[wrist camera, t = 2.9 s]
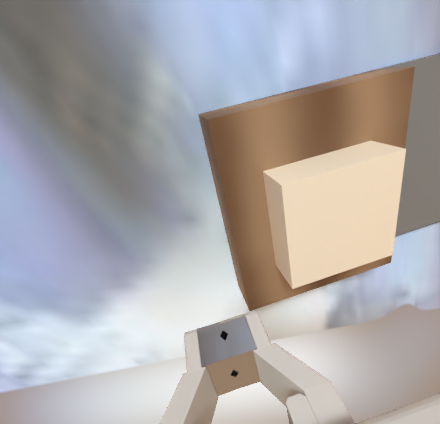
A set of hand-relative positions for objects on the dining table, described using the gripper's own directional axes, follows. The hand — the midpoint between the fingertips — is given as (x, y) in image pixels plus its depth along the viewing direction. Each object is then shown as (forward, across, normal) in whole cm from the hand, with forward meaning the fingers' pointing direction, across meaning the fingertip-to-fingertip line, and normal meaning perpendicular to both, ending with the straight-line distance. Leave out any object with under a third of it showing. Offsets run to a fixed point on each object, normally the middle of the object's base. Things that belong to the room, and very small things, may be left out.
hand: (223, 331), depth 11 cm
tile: (+7, -8, 0) cm, 10 cm away
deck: (+10, -8, 0) cm, 13 cm away
